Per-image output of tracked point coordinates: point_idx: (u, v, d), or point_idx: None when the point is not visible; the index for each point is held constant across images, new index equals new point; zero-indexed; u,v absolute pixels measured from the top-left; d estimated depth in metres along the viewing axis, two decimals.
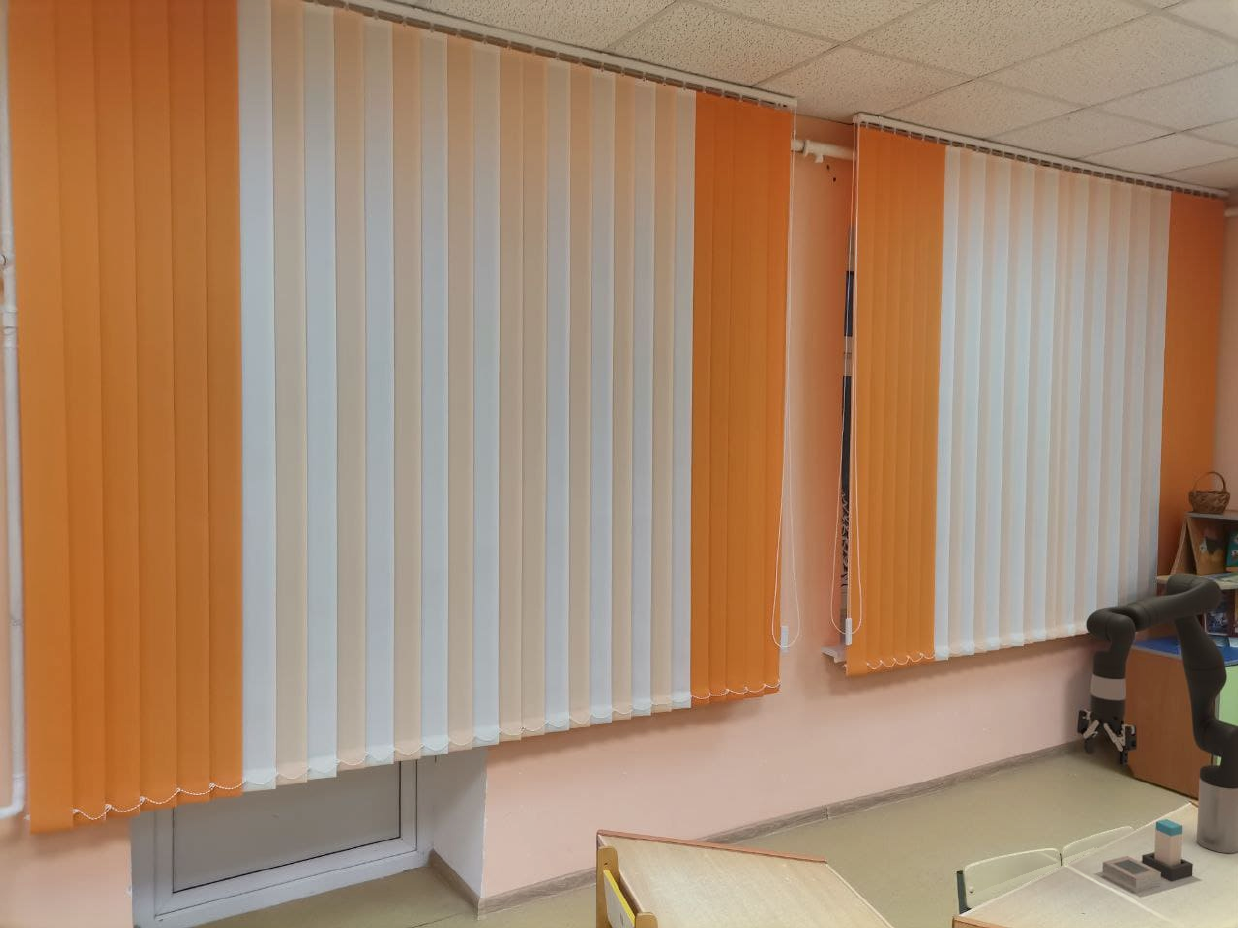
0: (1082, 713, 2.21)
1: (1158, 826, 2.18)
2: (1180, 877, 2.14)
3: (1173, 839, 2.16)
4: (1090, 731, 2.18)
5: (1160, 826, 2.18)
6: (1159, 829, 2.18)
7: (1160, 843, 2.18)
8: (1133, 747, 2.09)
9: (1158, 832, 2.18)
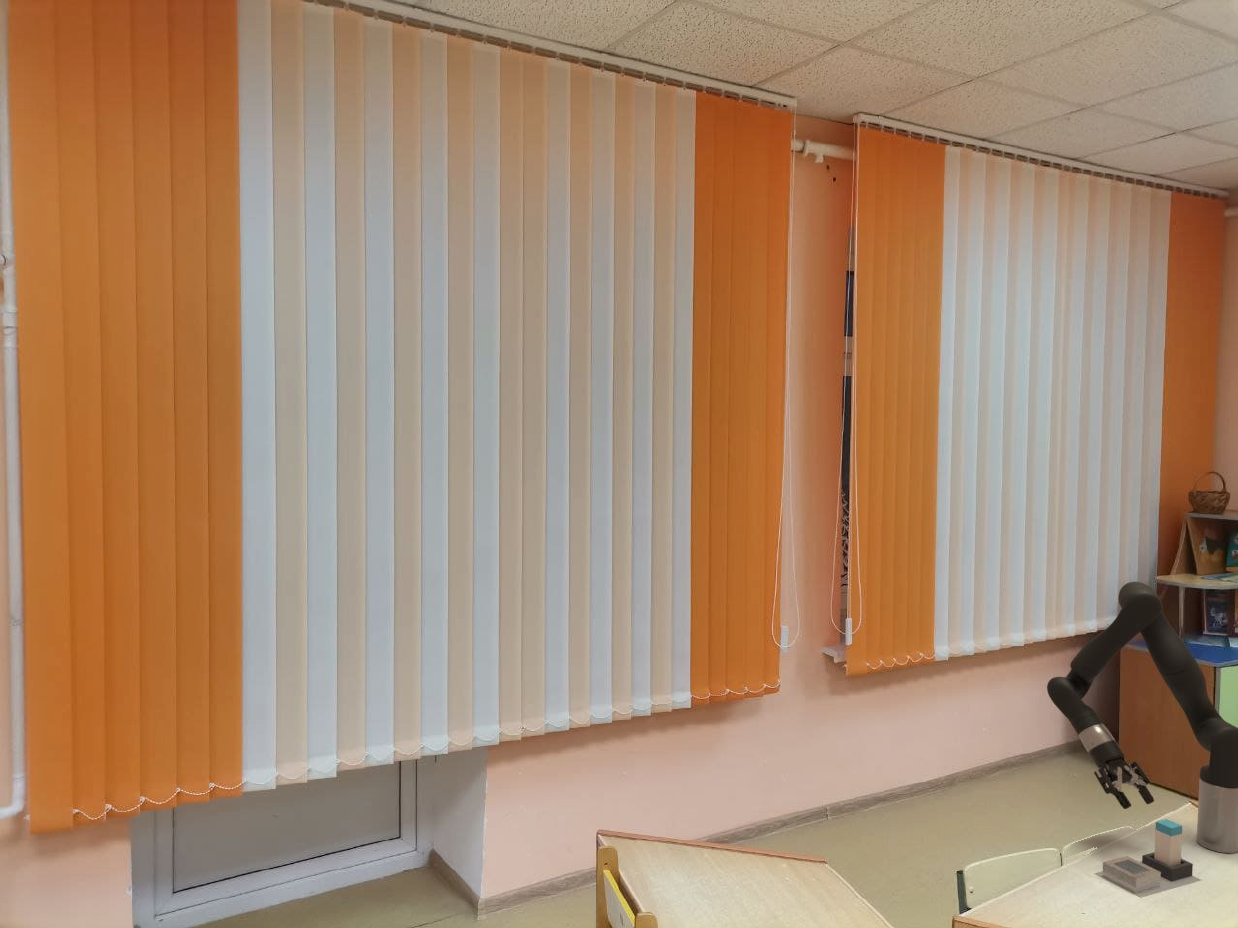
0: None
1: (1158, 826, 2.18)
2: (1180, 877, 2.14)
3: (1173, 839, 2.16)
4: None
5: (1160, 826, 2.18)
6: (1159, 829, 2.18)
7: (1160, 843, 2.18)
8: (1108, 788, 2.25)
9: (1158, 832, 2.18)
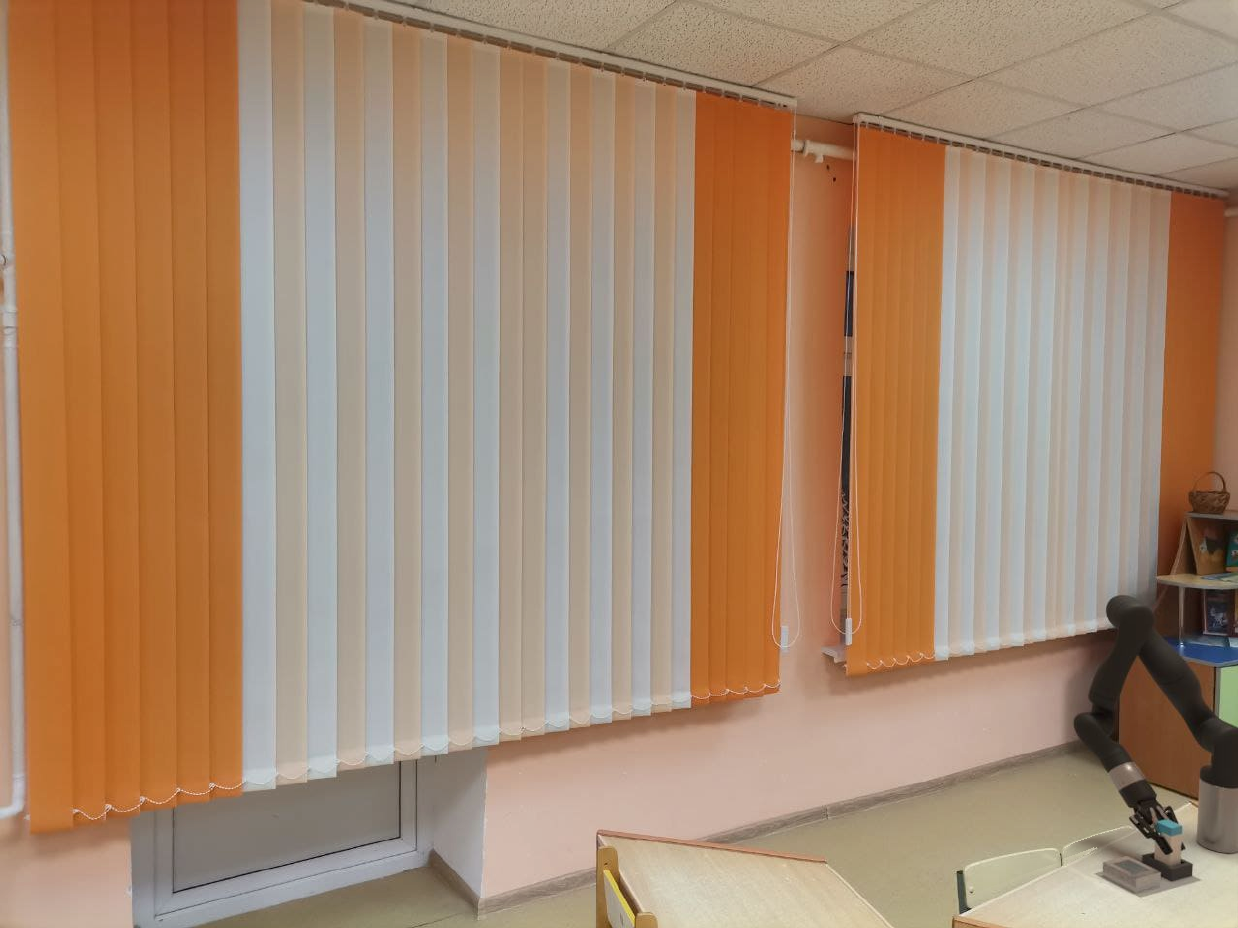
0: None
1: None
2: (1180, 877, 2.14)
3: (1173, 839, 2.16)
4: None
5: (1160, 826, 2.18)
6: None
7: None
8: (1148, 833, 2.17)
9: None
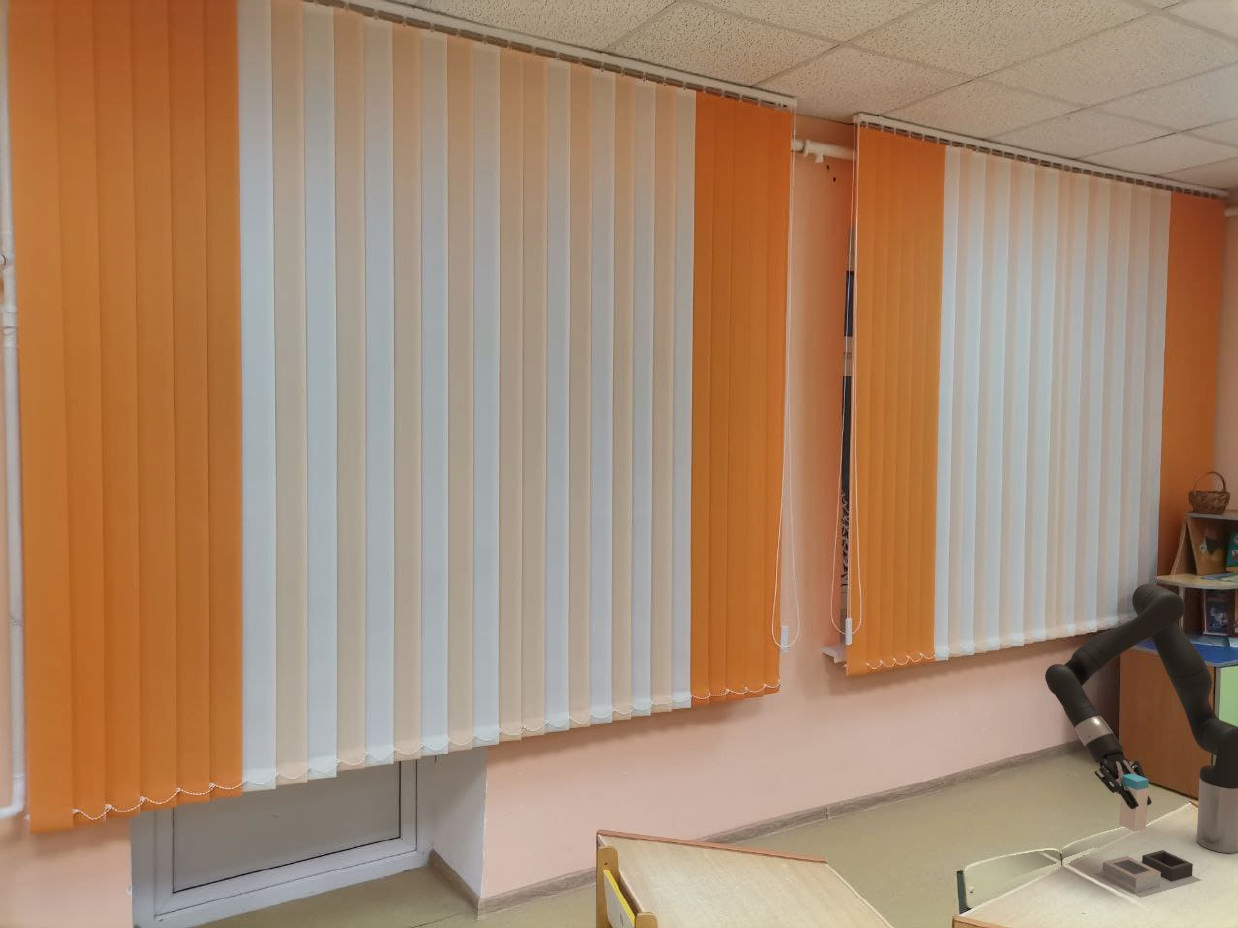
0: None
1: (1124, 780, 2.12)
2: (1180, 877, 2.14)
3: (1139, 793, 2.10)
4: None
5: (1126, 780, 2.12)
6: (1125, 783, 2.12)
7: None
8: (1114, 787, 2.12)
9: None
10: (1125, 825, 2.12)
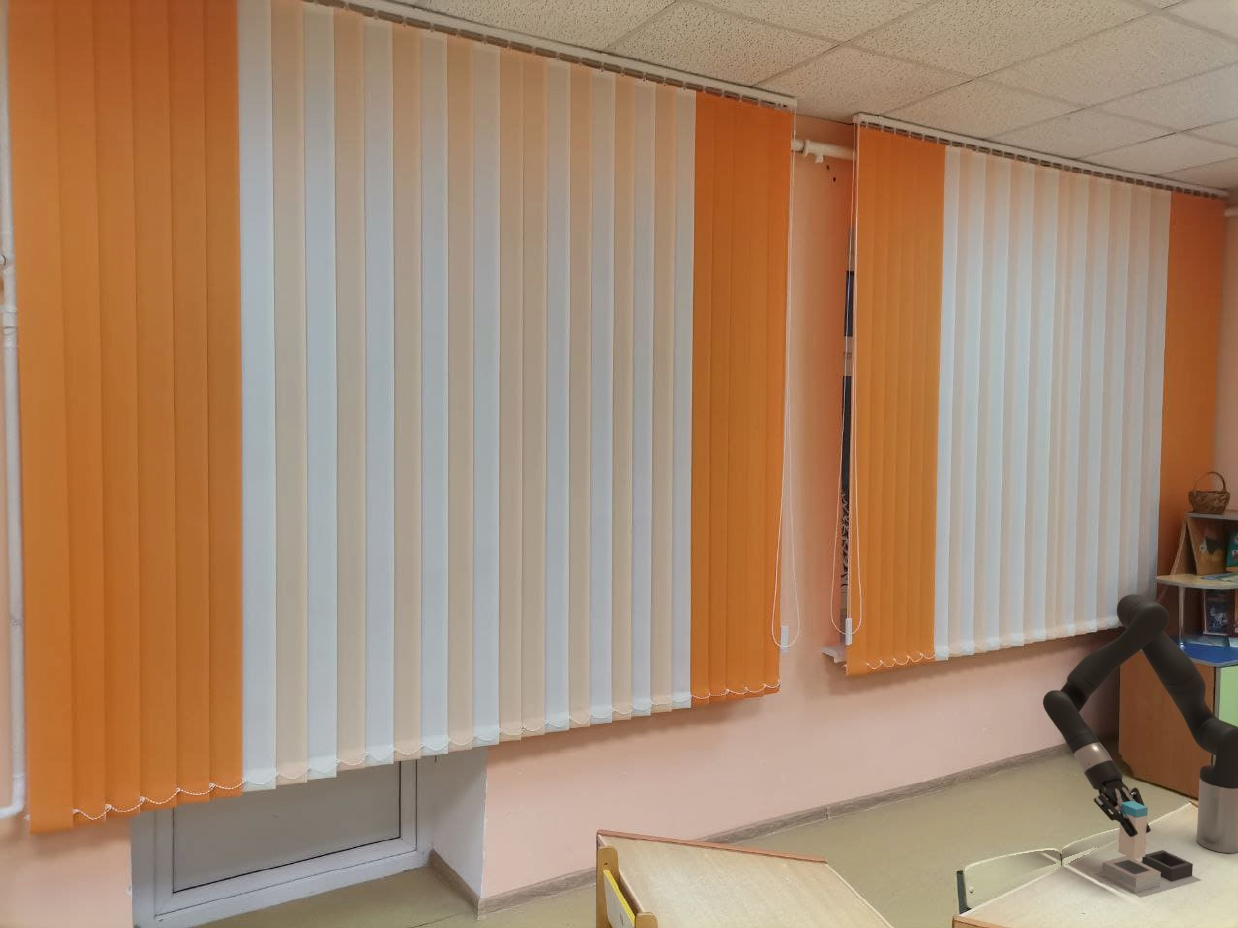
0: None
1: (1123, 808, 2.13)
2: (1180, 877, 2.14)
3: (1138, 821, 2.10)
4: None
5: (1125, 807, 2.12)
6: None
7: None
8: (1113, 815, 2.12)
9: None
10: (1124, 853, 2.12)
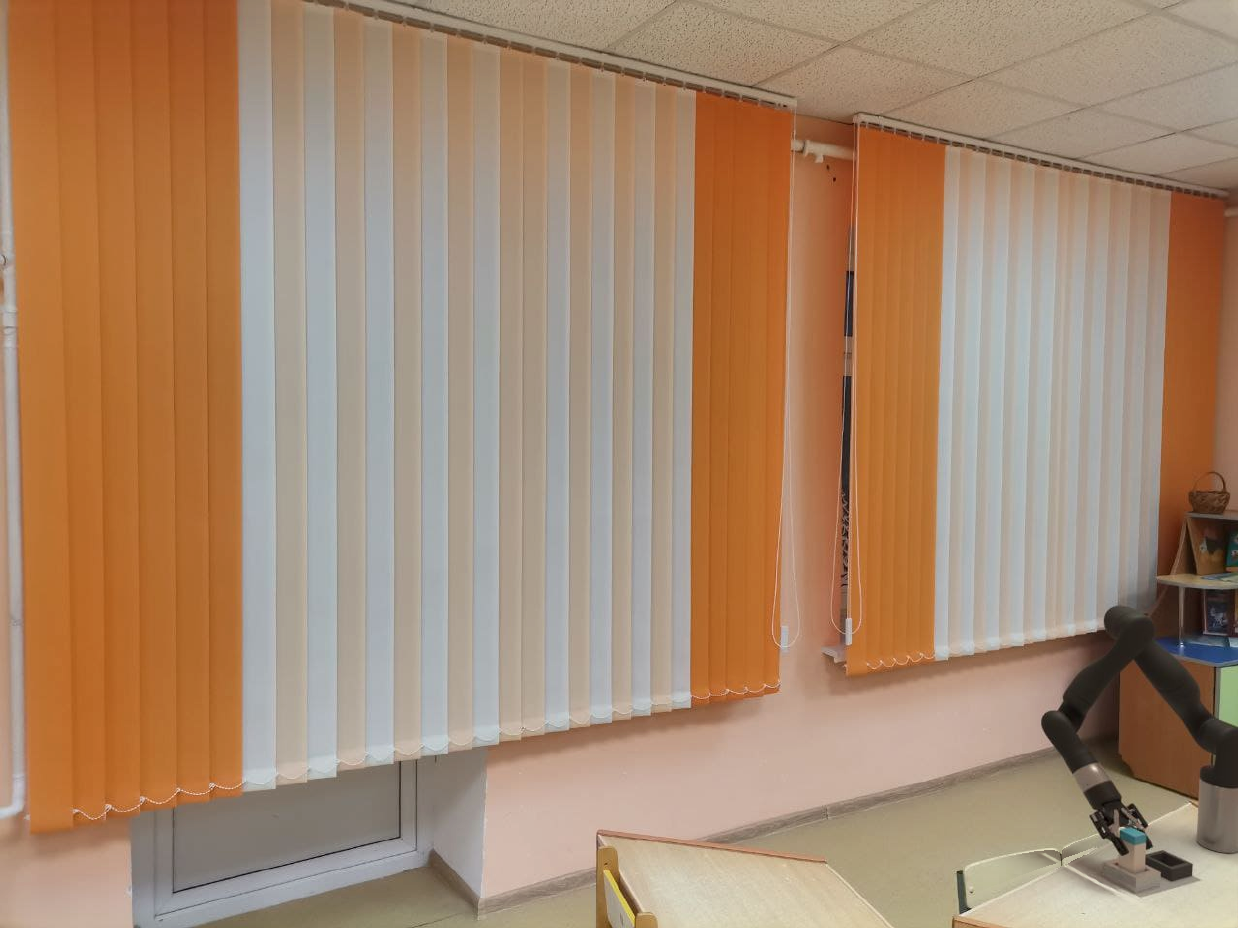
0: None
1: (1122, 835, 2.13)
2: (1180, 877, 2.14)
3: (1137, 848, 2.10)
4: None
5: (1124, 835, 2.12)
6: (1123, 838, 2.13)
7: None
8: (1104, 833, 2.12)
9: None
10: None
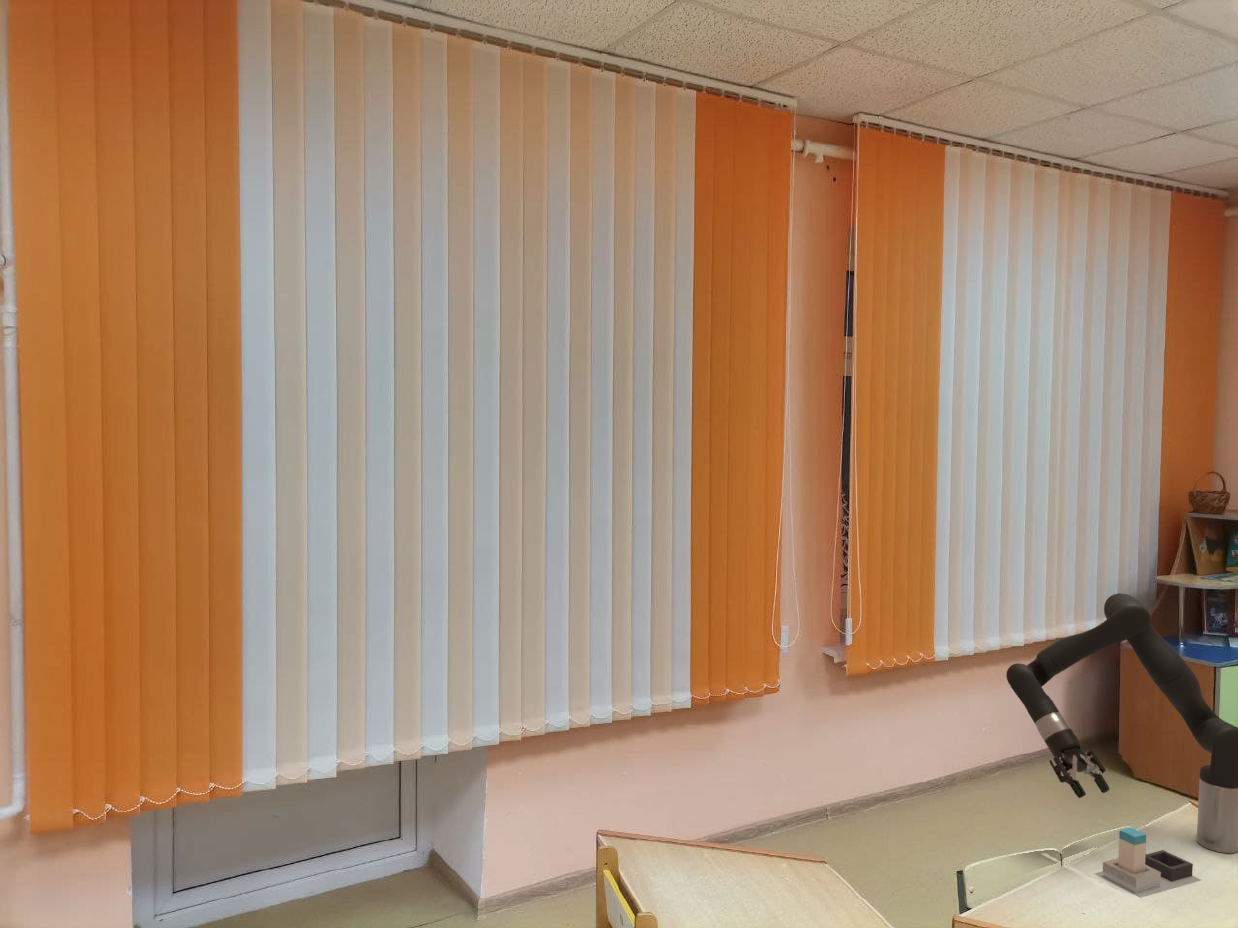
0: None
1: (1122, 835, 2.13)
2: (1180, 877, 2.14)
3: (1137, 848, 2.10)
4: None
5: (1124, 835, 2.12)
6: (1123, 838, 2.13)
7: (1124, 852, 2.12)
8: (1062, 777, 2.22)
9: (1122, 841, 2.13)
10: None
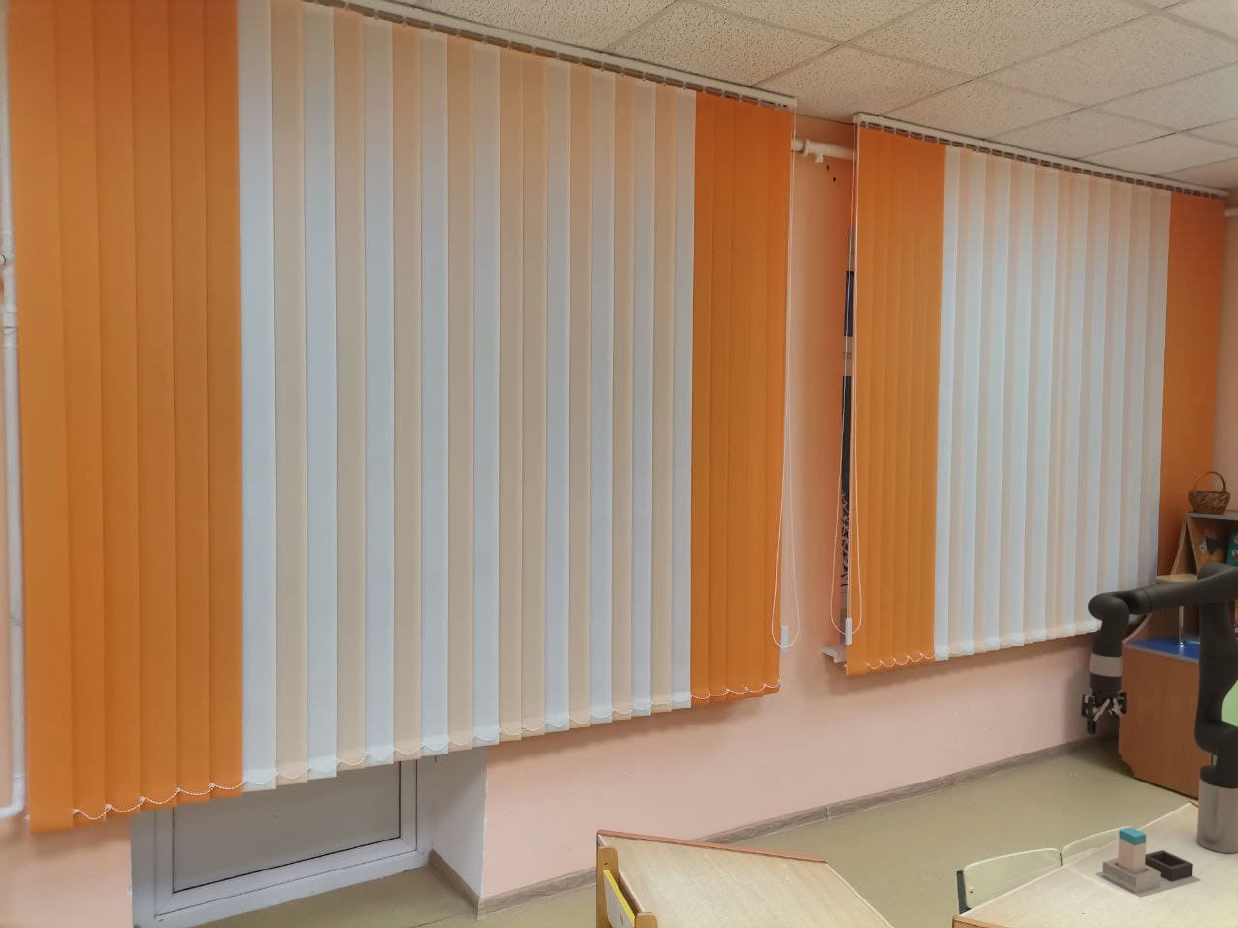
0: None
1: (1122, 835, 2.13)
2: (1180, 877, 2.14)
3: (1137, 848, 2.10)
4: None
5: (1124, 835, 2.12)
6: (1123, 838, 2.13)
7: (1124, 852, 2.12)
8: (1085, 715, 2.30)
9: (1122, 841, 2.13)
10: None
